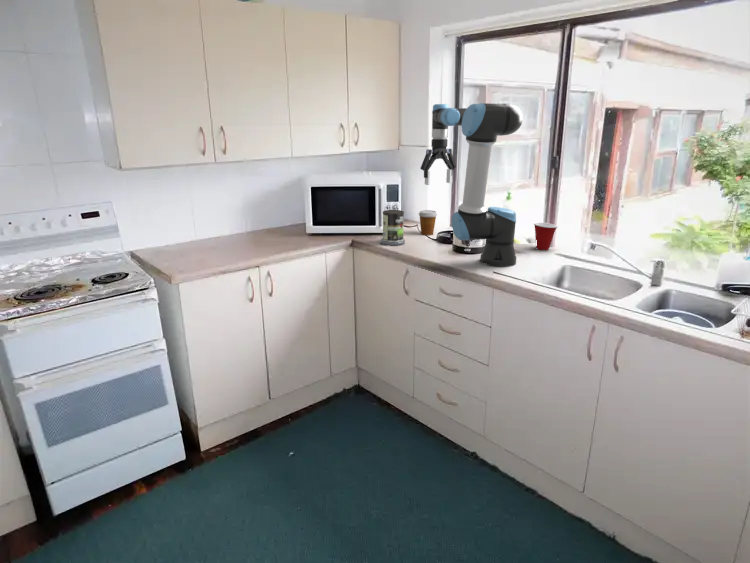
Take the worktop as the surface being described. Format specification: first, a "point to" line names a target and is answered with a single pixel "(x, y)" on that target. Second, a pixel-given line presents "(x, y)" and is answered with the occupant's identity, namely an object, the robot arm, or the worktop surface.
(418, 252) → the worktop surface
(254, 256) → the worktop surface
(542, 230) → the plastic cup
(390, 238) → the coffee can
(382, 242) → the coaster
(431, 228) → the disposable coffee cup
